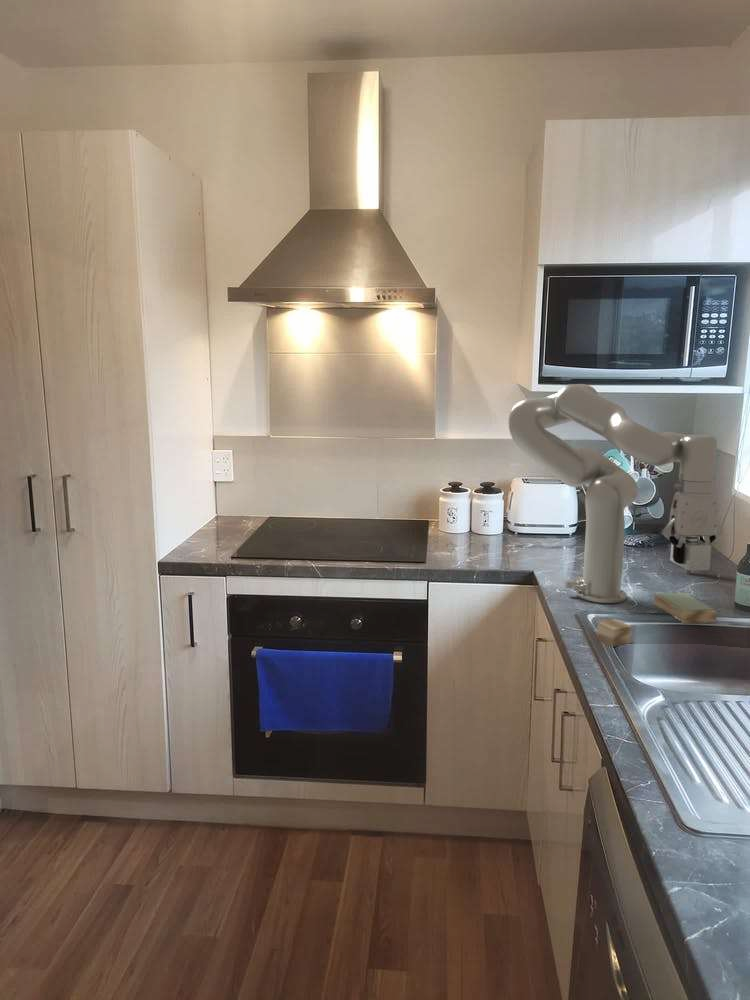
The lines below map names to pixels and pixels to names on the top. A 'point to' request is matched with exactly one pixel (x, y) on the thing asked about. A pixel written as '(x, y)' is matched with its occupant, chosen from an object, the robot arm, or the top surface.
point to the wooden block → (685, 608)
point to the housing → (694, 554)
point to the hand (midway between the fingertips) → (689, 561)
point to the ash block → (614, 632)
